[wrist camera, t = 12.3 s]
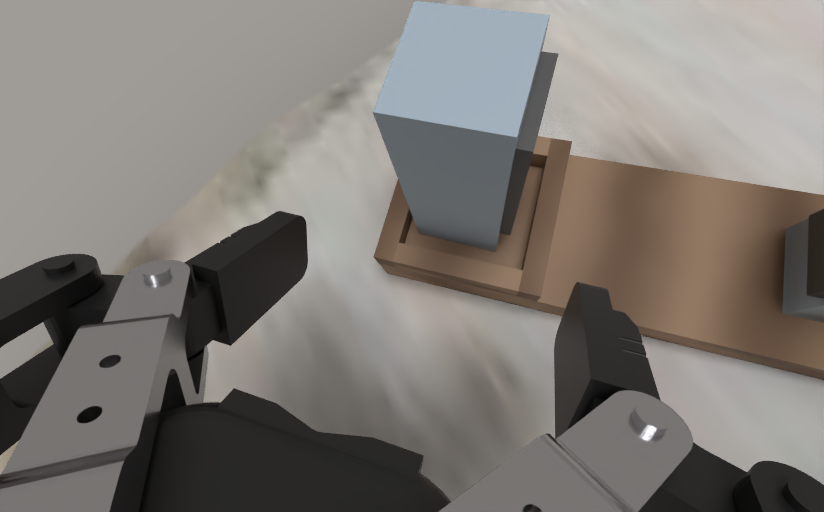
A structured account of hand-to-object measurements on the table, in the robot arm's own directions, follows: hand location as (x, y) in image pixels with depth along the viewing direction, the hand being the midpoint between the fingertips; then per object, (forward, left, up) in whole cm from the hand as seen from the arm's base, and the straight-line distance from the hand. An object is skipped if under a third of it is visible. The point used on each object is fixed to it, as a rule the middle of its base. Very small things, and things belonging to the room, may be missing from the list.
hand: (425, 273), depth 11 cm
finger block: (-3, -5, -8) cm, 10 cm away
